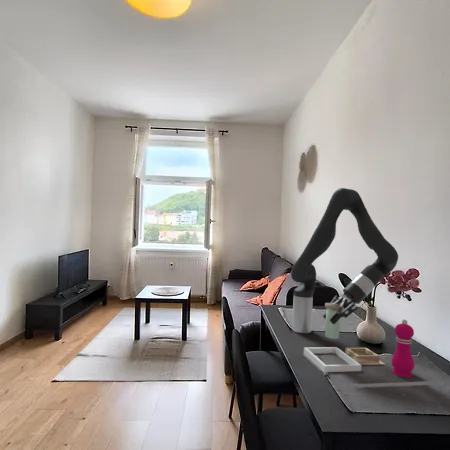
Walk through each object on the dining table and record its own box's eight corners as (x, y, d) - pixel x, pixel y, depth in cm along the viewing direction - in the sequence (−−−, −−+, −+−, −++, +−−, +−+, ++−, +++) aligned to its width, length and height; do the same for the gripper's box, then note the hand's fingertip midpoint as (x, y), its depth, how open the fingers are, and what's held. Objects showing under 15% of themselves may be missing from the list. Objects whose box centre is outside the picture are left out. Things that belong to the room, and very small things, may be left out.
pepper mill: (401, 381, 117) (404, 322, 117) (386, 372, 124) (388, 317, 124) (418, 380, 119) (421, 322, 119) (402, 371, 126) (405, 316, 126)
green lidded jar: (321, 334, 132) (322, 302, 132) (335, 333, 133) (336, 302, 133) (328, 339, 126) (329, 306, 126) (343, 338, 127) (344, 306, 127)
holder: (339, 355, 139) (340, 346, 139) (366, 354, 141) (367, 346, 141) (355, 367, 127) (356, 358, 127) (385, 366, 129) (385, 357, 129)
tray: (303, 355, 138) (303, 347, 138) (336, 354, 140) (336, 347, 140) (324, 374, 120) (324, 366, 120) (361, 373, 122) (361, 365, 122)
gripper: (343, 278, 138) (313, 308, 136) (363, 284, 124) (330, 318, 122) (354, 292, 139) (325, 322, 137) (376, 299, 125) (344, 333, 123)
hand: (328, 320), depth 130 cm, fingers closed on green lidded jar, 5 cm apart
